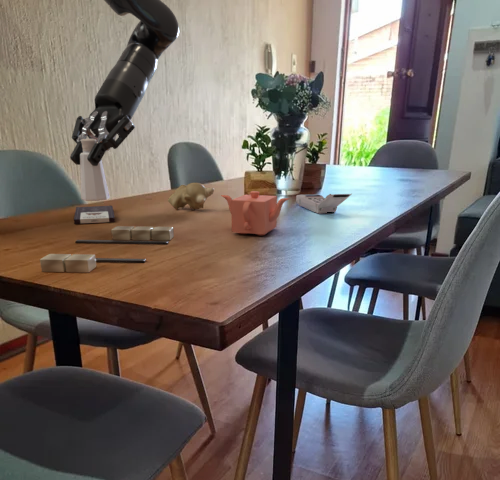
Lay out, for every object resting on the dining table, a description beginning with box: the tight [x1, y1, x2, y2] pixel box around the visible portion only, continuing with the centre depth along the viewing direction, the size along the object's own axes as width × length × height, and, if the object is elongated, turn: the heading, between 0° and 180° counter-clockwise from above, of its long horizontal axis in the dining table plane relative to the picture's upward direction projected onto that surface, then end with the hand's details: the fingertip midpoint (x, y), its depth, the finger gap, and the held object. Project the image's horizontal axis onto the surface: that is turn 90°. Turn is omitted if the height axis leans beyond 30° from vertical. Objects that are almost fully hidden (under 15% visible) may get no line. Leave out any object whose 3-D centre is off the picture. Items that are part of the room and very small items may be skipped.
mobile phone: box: [295, 193, 353, 215], centre depth 131 cm, size 6×6×25 cm
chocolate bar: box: [73, 205, 116, 225], centre depth 124 cm, size 9×1×18 cm
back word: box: [75, 225, 175, 245], centre depth 100 cm, size 18×7×2 cm, turn 86°
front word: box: [39, 253, 147, 273], centre depth 82 cm, size 15×7×2 cm, turn 86°
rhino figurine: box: [167, 182, 215, 211], centre depth 132 cm, size 8×7×12 cm
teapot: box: [220, 190, 291, 237], centre depth 106 cm, size 12×15×8 cm
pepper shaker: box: [79, 138, 111, 202], centre depth 98 cm, size 5×5×11 cm
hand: (83, 162), depth 95 cm, fingers closed on pepper shaker, 4 cm apart
